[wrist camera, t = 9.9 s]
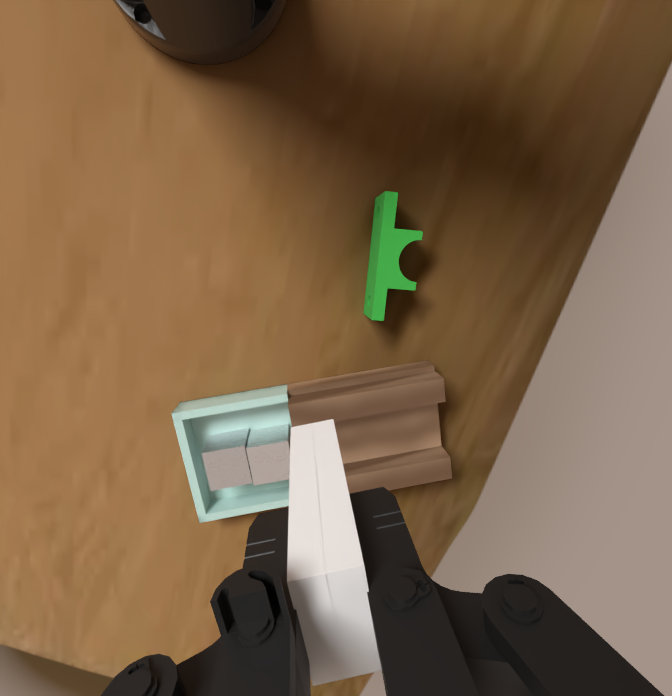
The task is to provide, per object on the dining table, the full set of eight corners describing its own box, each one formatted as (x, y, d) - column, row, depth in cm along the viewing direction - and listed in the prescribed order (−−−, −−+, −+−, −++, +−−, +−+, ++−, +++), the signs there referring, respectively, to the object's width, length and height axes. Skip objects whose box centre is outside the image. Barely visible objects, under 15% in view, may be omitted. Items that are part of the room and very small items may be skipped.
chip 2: (250, 430, 42) (245, 448, 38) (288, 423, 42) (288, 440, 38) (257, 464, 43) (253, 485, 39) (294, 458, 43) (294, 478, 39)
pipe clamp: (398, 315, 42) (411, 323, 37) (363, 313, 41) (371, 320, 37) (412, 201, 39) (428, 195, 35) (375, 197, 39) (385, 190, 34)
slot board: (287, 384, 42) (286, 399, 38) (427, 360, 43) (443, 372, 39) (305, 486, 45) (307, 511, 40) (437, 461, 46) (452, 483, 41)
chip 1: (210, 434, 42) (201, 453, 38) (248, 428, 42) (244, 445, 38) (218, 469, 43) (210, 491, 39) (256, 462, 43) (252, 483, 39)
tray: (180, 402, 41) (171, 413, 38) (287, 384, 42) (287, 393, 39) (205, 505, 44) (199, 522, 41) (305, 486, 45) (306, 502, 42)
